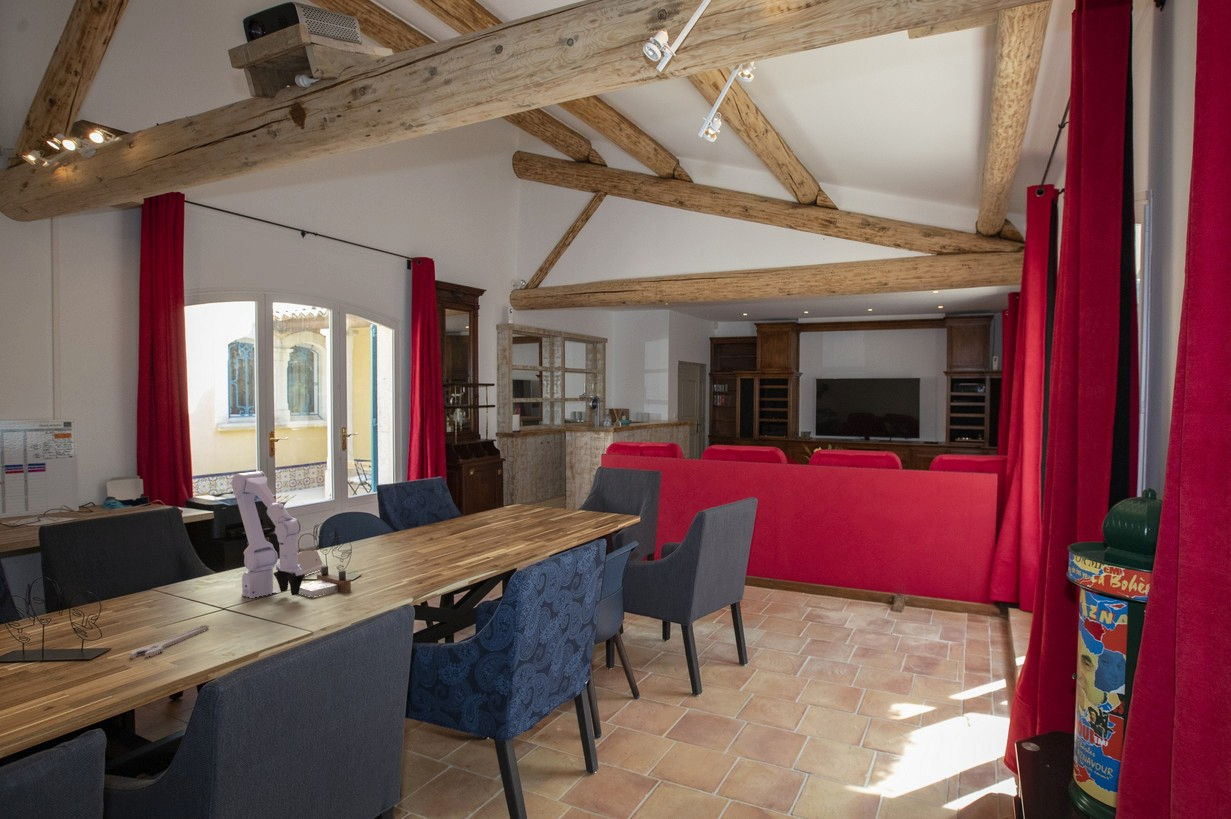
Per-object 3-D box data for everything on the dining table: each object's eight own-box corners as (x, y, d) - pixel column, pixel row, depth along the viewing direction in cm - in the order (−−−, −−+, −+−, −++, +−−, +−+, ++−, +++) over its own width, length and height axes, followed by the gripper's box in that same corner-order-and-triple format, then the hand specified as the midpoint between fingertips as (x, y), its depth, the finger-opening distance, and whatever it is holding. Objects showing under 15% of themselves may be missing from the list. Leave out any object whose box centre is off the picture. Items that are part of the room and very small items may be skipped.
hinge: (298, 579, 273) (290, 554, 274) (288, 582, 274) (281, 558, 275) (327, 569, 289) (320, 545, 290) (318, 572, 290) (311, 549, 291)
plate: (311, 599, 246) (311, 591, 246) (294, 594, 254) (294, 585, 253) (338, 593, 254) (337, 584, 254) (320, 587, 261) (320, 579, 261)
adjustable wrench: (203, 629, 215) (203, 624, 215) (220, 631, 213) (220, 625, 213) (126, 658, 191) (126, 652, 191) (145, 660, 189) (144, 654, 189)
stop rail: (343, 592, 252) (342, 573, 252) (317, 585, 264) (316, 566, 263) (350, 590, 255) (350, 571, 255) (324, 583, 266) (324, 564, 266)
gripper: (310, 554, 245) (311, 593, 245) (289, 549, 254) (290, 587, 254) (290, 558, 239) (291, 598, 239) (269, 553, 248) (270, 591, 248)
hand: (289, 593), depth 246 cm, fingers open, 7 cm apart
